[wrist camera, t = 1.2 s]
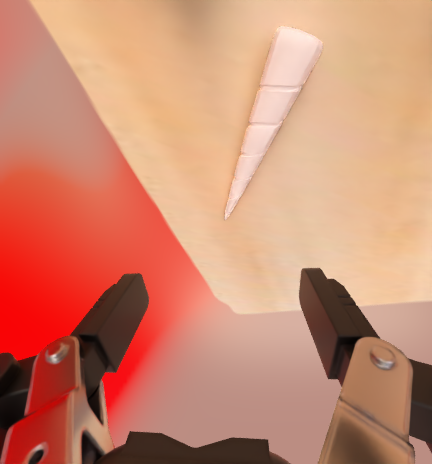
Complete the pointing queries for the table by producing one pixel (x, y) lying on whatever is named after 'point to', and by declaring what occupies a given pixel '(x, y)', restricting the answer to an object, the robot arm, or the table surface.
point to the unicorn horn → (274, 100)
